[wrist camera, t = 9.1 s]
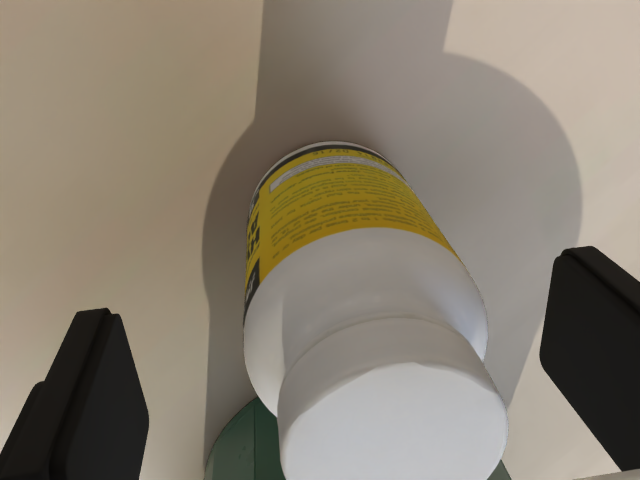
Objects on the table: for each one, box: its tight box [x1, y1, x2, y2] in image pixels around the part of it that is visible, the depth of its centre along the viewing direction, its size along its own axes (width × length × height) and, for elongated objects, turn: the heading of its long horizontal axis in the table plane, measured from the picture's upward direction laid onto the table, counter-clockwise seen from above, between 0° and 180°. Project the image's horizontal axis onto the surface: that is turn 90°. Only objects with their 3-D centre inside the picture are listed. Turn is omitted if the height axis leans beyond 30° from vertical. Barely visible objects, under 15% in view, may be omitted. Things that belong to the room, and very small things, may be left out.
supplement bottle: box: [243, 141, 508, 480], centre depth 13 cm, size 5×5×10 cm
